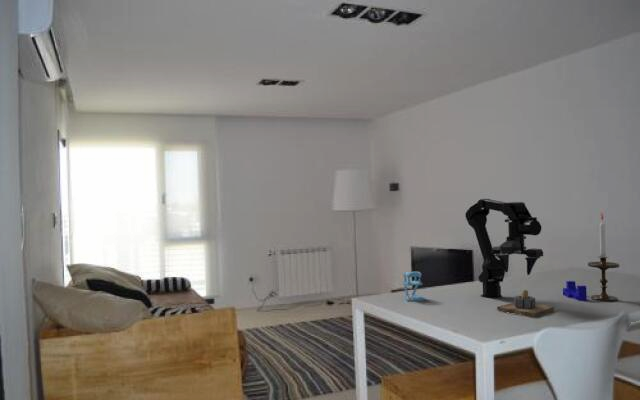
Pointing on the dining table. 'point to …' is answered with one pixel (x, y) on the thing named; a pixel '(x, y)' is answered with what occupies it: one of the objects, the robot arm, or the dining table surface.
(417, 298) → the chair
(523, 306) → the ring
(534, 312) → the post block
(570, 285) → the cable clip
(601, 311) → the dining table surface
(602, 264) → the candlestick
